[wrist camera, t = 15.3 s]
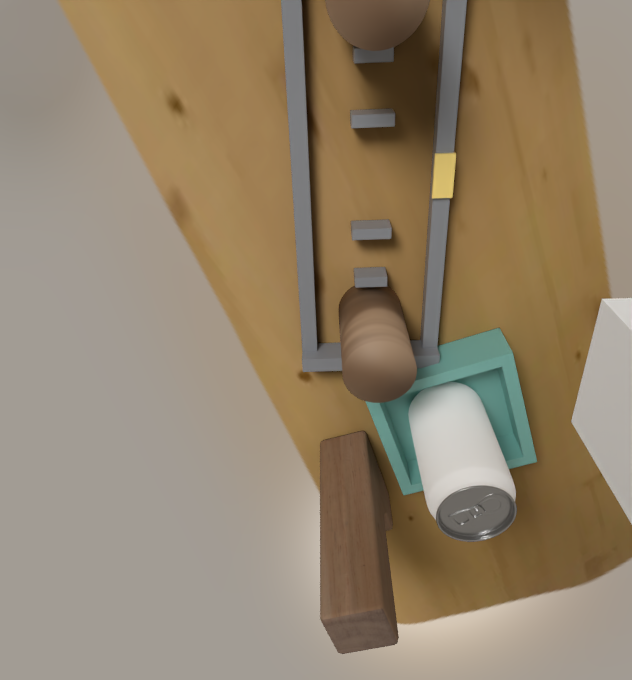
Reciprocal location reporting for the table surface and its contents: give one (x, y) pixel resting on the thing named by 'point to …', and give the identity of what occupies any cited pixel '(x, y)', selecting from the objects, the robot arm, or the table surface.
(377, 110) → the grey flat open frame
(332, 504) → the wooden block
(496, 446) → the can
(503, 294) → the table surface
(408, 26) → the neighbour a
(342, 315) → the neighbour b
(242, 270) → the table surface
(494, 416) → the tray
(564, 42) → the table surface
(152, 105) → the table surface
